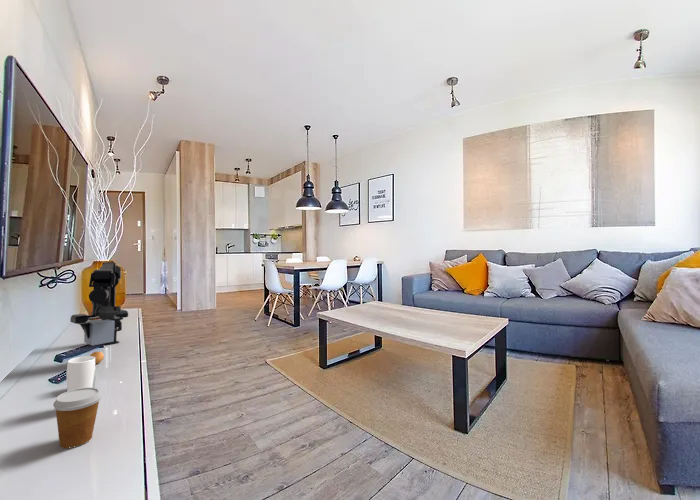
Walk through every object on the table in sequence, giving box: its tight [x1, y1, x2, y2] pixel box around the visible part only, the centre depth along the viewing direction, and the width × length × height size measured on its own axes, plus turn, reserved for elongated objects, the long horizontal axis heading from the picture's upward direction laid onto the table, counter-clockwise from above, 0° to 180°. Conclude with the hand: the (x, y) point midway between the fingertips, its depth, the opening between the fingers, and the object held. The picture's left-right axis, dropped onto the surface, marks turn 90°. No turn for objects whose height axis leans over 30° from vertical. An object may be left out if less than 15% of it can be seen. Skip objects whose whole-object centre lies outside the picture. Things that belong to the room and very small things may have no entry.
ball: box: [89, 351, 105, 365], centre depth 136 cm, size 5×5×5 cm
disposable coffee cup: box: [52, 387, 103, 449], centre depth 82 cm, size 10×10×12 cm
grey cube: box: [83, 318, 115, 346], centre depth 135 cm, size 8×8×9 cm
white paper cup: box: [66, 355, 96, 392], centre depth 98 cm, size 7×7×15 cm
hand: (99, 336), depth 135 cm, fingers closed on grey cube, 8 cm apart
